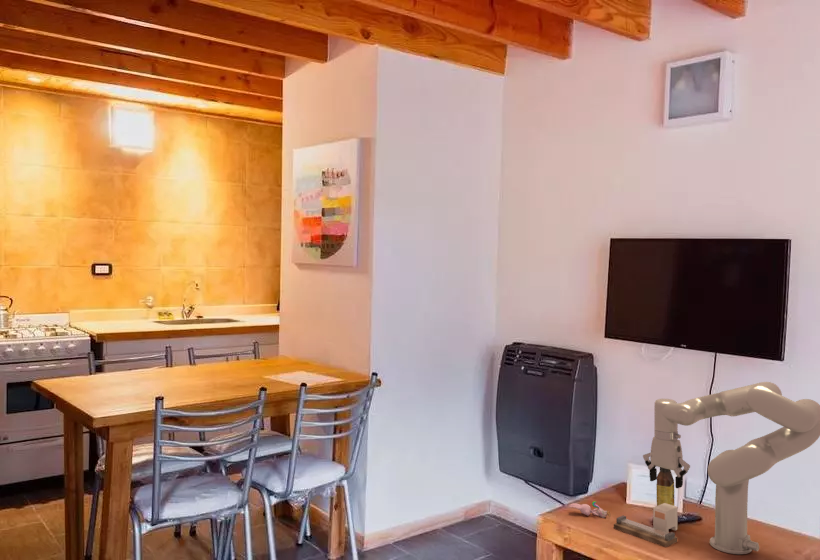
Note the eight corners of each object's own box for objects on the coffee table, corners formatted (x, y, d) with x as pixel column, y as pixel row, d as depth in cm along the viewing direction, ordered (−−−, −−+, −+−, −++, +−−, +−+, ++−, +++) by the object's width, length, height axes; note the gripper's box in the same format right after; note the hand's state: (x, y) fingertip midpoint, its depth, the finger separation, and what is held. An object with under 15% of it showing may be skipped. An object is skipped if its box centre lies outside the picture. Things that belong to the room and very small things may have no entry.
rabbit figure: (608, 517, 251) (567, 507, 254) (611, 502, 251) (570, 492, 254) (609, 524, 245) (567, 513, 248) (612, 508, 244) (570, 498, 248)
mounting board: (677, 541, 226) (677, 537, 226) (665, 547, 222) (666, 542, 222) (625, 523, 242) (625, 519, 242) (613, 528, 237) (613, 524, 237)
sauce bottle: (677, 515, 249) (677, 462, 249) (659, 515, 249) (660, 462, 249) (670, 509, 256) (670, 456, 255) (653, 508, 256) (654, 456, 255)
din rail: (674, 538, 225) (674, 532, 225) (668, 541, 223) (668, 536, 223) (623, 520, 241) (623, 515, 241) (616, 523, 238) (616, 518, 238)
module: (677, 529, 236) (677, 506, 236) (666, 534, 232) (666, 511, 232) (664, 525, 240) (664, 502, 240) (652, 530, 236) (653, 507, 236)
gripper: (695, 438, 231) (695, 488, 231) (649, 428, 244) (649, 475, 245) (683, 441, 226) (683, 492, 227) (637, 432, 240) (637, 480, 240)
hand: (665, 483), depth 236 cm, fingers open, 9 cm apart
